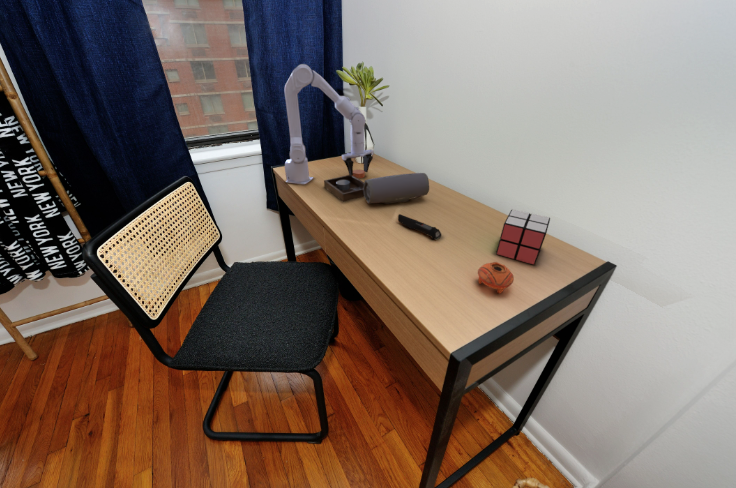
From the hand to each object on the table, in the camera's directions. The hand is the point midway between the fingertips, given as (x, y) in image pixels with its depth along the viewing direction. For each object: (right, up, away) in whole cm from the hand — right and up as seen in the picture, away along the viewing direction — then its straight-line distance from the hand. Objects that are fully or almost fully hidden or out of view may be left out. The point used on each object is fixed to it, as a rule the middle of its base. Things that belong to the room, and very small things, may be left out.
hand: (358, 173), depth 136 cm
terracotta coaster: (0, -1, +1) cm, 2 cm away
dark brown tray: (-4, -10, -13) cm, 17 cm away
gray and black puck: (-6, -8, -11) cm, 15 cm away
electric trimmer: (+20, -27, -39) cm, 52 cm away
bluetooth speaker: (+15, -15, -21) cm, 30 cm away
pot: (+34, -42, -62) cm, 82 cm away
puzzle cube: (+47, -34, -49) cm, 76 cm away
